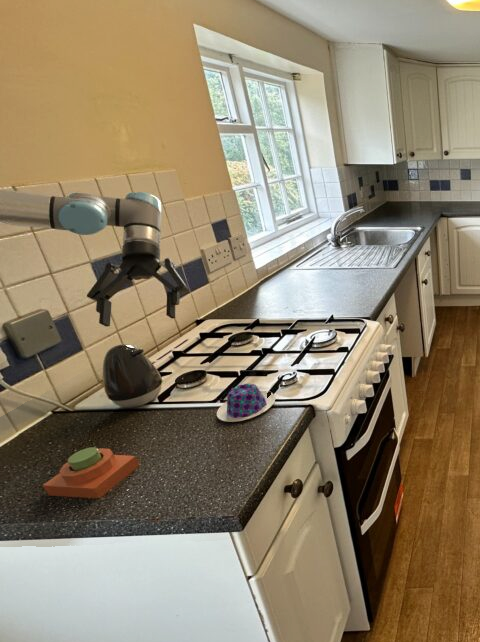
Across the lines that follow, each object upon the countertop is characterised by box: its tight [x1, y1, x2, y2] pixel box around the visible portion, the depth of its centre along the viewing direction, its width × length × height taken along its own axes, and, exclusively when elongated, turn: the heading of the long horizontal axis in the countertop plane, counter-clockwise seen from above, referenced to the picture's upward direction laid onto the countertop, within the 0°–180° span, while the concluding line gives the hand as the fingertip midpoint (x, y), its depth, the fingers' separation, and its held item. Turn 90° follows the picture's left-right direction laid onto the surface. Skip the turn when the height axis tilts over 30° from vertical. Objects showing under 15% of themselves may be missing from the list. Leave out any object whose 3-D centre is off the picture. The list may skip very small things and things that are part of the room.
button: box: [67, 446, 102, 471], centre depth 75 cm, size 4×4×2 cm
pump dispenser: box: [102, 344, 163, 408], centre depth 97 cm, size 10×10×15 cm
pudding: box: [216, 383, 276, 423], centre depth 97 cm, size 12×12×5 cm
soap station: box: [42, 447, 140, 499], centre depth 77 cm, size 10×8×4 cm
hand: (138, 320), depth 103 cm, fingers open, 13 cm apart
